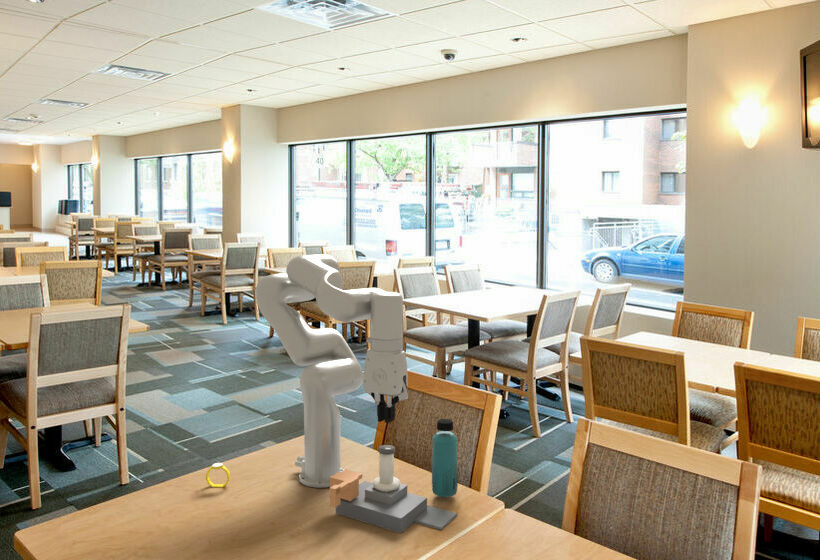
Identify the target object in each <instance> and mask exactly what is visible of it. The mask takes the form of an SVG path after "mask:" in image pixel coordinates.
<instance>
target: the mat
mask: <svg viewBox="0 0 820 560" xmlns="http://www.w3.org/2000/svg"><path fill="white" fill-rule="evenodd" d="M457 516H458V513H457V512H454V511H451V510H446V509H443V508H440V507H435V506H432V505H429V504H427V510H426V511H424V512H423V513H422V514H421V515H420V516H418V517H417V518H416V519H415V520H414V523H416V524H420V525H423V526H426V527H430V528H432V527H433V529H435V530H436V529H437V530H439V531H442V530H443V529H444V528H445V527H446V526H448V525H449V522H450V523H451V522H452V521H453V520H454V519H455V518H456V517H457Z"/></svg>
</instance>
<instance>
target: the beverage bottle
mask: <svg viewBox="0 0 820 560" xmlns="http://www.w3.org/2000/svg"><path fill="white" fill-rule="evenodd" d="M436 423H437V424H436V429H437V430H438V432H436V433H435V434H434V435H433V436H432V460H431V462H432V463H431V488H432V489H431V491H432V493H433V494H434V495H435V496H437V497H441V498H450V497H453V496H456V494H457V492H458V483H459V482H458V475H459V474H458V470H459V469H458V467H459V466H458V465H459V464H458V458H459V457H458V437H457V435H456V434H455V433H453V432H452V431H453V430H454V422H453V420H452V419H450V418H441V419H438V420H437V422H436Z"/></svg>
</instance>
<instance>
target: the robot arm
mask: <svg viewBox="0 0 820 560" xmlns="http://www.w3.org/2000/svg"><path fill="white" fill-rule="evenodd" d="M285 269H286V271H285V272H280V273H279V272H278V273H273V274H269V275H267V276H264V277H262V278H261V279H259V281H258V283H256V287H255V300H256V304H257V307H258V309H259V311H260V313H261V315H262V316H263V318H264V319H265V321H267V323H268V324H269V325H270V326H271V328H272V329H273V330H274V332H275V334H276V335H277V337H278V339H279V340H280V342H281V344H282V346H283V347H284V349H285V351H286V353H287V354H288V356H289V358H290V360H291V361H292V362H293V364H295V365H296V366H299V367H305V366H306V367H305V368H304V369H303V370H301V373H300V376H299V385H300V391H301V396H302V403H303V424H304V426H303V428H304V430H303V431H304V434H303V435H304V438H303V439H304V456H302V455H298V456H297V458H296V460H295V462H294V466H295V467H299V468H301V471H300V472H299V475H298V480H299V482H300V483H301V484H302V485H303V486H306V487H309V488H310V487H311V488H317V489H318V488H319V489H322V488H330V477H331V476H333V475H334V474H336V473H338V472H342V471H344V470H345V469H344V468H342V467H341V464H342V462H341V460H342V459H341V453H342V452H341V450H342V449H341V446H342V445H341V413H340V409H339V407H338V406H337V404H336V402H335V400H334V397H336V396H339V395H344V394H348V393H351V392H355V391H357V390H358V389H359V388H360V387H361V386H362V385H363V389H364V392H365V393H366V394H368V395H369V396H371V397H372V399H373V400H374V404H375V405H376V406H377V407H376V414H377V415H376V416H377V422H379V423H380V422H381V423H382V422H384V424H390V423H392V422H393V421H394V420H395V417H396V405H397V404H398V403H399V402H400V401H405V400H407V399H408V398H409V393H408V387H409V386H408V385H409V376H408V375H409V374H408V373H409V372H408V364H407V355H406V353H405V350H403V341H404V339H403V336H404V335H403V329H404V327H403V325H404V322H403V321H404V319H403V318H404V317H403V315H404V314H403V313H404V298H403V295H402V294H401V293H400V292H396V291H386V290H384V289H381V288H378V287H364V288H355V289H345V290H343V289H342V288H343V287H344V286H343V284H344V278H343V275H342V274H341V271H340V265H339V262H338V260H337V259H335V257H334V256H333V255H330V254H327V253H320V254H319V253H317V254H302V255H297V256H295V257H294V258H292V259H290V261H289V262H288V263H287V264H286V268H285ZM314 299H315V301H316V304H317V306H318V308H319V309H320V311H321V312H322V313H324V314H326V316H328V317H330V318H332V319H334V320H336V321H339V322H343V323H351V322H358V321H363V320H365V321H366V320H370V333H369V334H370V337H367V338H366V342H367V344H369V347H370V348H368V349H367V350H366V353H365V360H364V367H363V369H362V366H361V364H360V362H359V360H358V359H357V357H356V355H355V353H354V352H353V350H352V349H351V348H350V346H349V344H348V342H347V341H346V339H345V337H344V336H343V335H342V334H341V333H340V332H339V331H338V330H337V329H335V328H334V327H333V328H332V327H321V328H320V327H319V328H312V327H310V326H309V323H307V321H306V319H305V318H304V316H303V315H302V314H301V313H300V312H299V311H298V310H297V309H295V308H293V307H291V306H290V305H288V304H290V303H291V304H292V303H299V302H308V301H311V300H314Z"/></svg>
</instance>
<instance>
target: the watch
mask: <svg viewBox="0 0 820 560" xmlns="http://www.w3.org/2000/svg"><path fill="white" fill-rule="evenodd" d="M220 469H221V470H223V471H224V472H225V473H226V476H227V480H226V482H225V483H221V484H219V483H218V484H217V483H213V482H212V481H211V479H210V472H211V470H220ZM205 480H206V483H207V484H208V486H209V487H211V488H225V487H226V486H227V485H228V484H229V482H230V480H231V472H230V470H229V469H228V468H227V467H226V466H225V465H224V464H223V462H216V463H213V464H212V465H211V466H210V467H209V469H208V470H207V472H206V474H205Z"/></svg>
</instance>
